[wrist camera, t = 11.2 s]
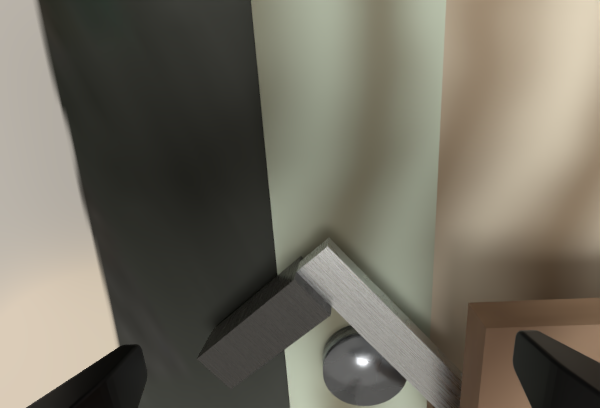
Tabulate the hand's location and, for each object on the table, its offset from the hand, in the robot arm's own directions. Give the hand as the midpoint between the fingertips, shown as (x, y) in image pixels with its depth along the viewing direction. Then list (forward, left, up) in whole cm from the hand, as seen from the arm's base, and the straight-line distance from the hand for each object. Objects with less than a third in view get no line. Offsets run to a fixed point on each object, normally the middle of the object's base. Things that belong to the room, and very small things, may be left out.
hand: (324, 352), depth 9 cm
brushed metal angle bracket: (-4, +5, -8) cm, 10 cm away
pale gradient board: (-8, +1, -11) cm, 13 cm away
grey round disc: (-2, +9, -10) cm, 13 cm away
